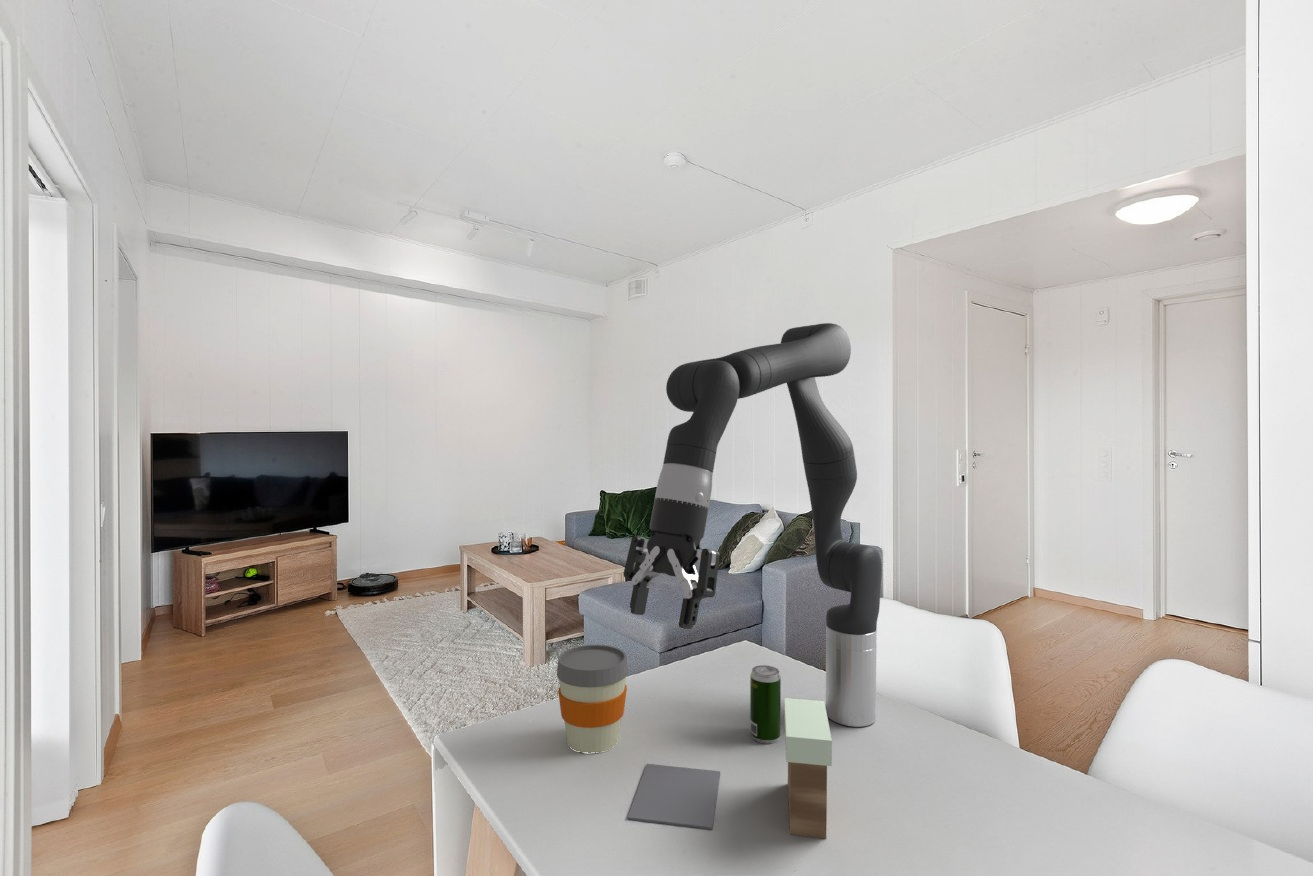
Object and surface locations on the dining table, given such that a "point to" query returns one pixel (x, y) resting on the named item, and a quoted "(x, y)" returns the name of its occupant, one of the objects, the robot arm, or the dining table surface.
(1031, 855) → the dining table surface
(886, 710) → the dining table surface
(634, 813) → the mat
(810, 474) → the robot arm
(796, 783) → the box
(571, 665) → the reusable coffee cup
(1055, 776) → the dining table surface
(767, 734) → the beer can
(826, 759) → the pale green block
